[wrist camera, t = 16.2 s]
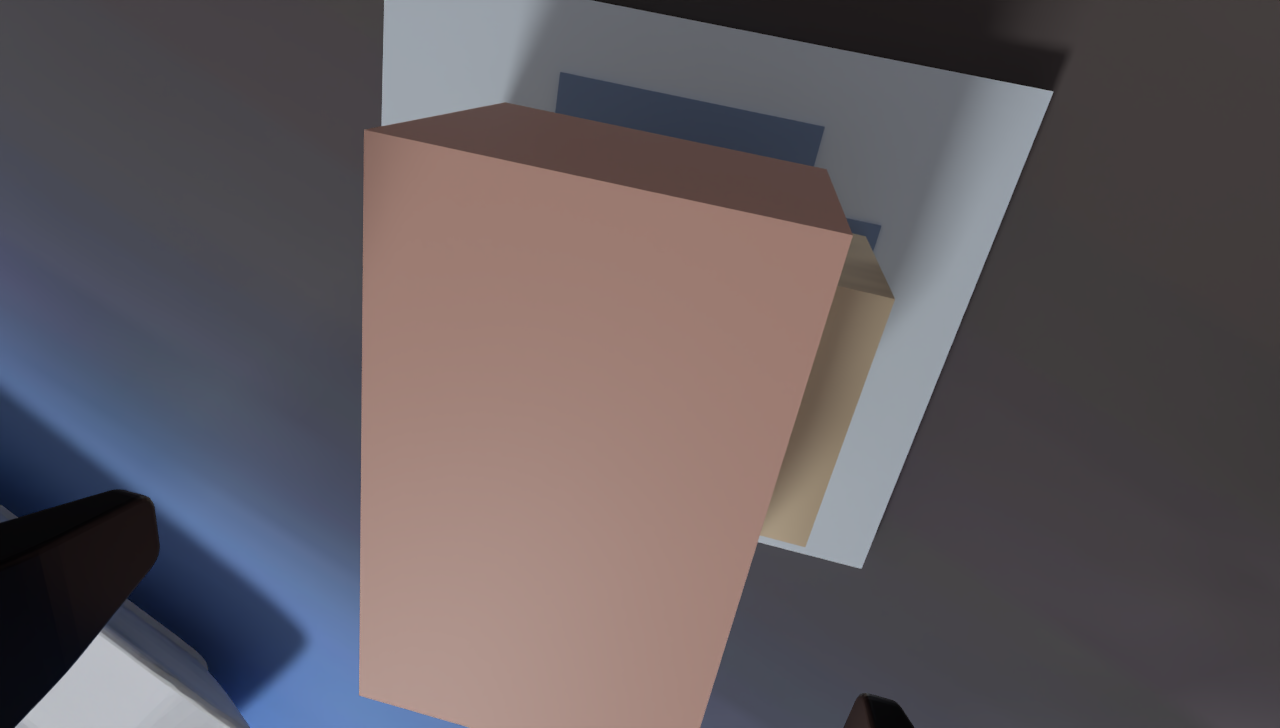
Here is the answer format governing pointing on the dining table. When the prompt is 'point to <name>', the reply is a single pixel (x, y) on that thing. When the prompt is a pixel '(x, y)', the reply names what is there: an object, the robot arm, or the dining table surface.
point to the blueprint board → (777, 128)
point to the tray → (135, 681)
